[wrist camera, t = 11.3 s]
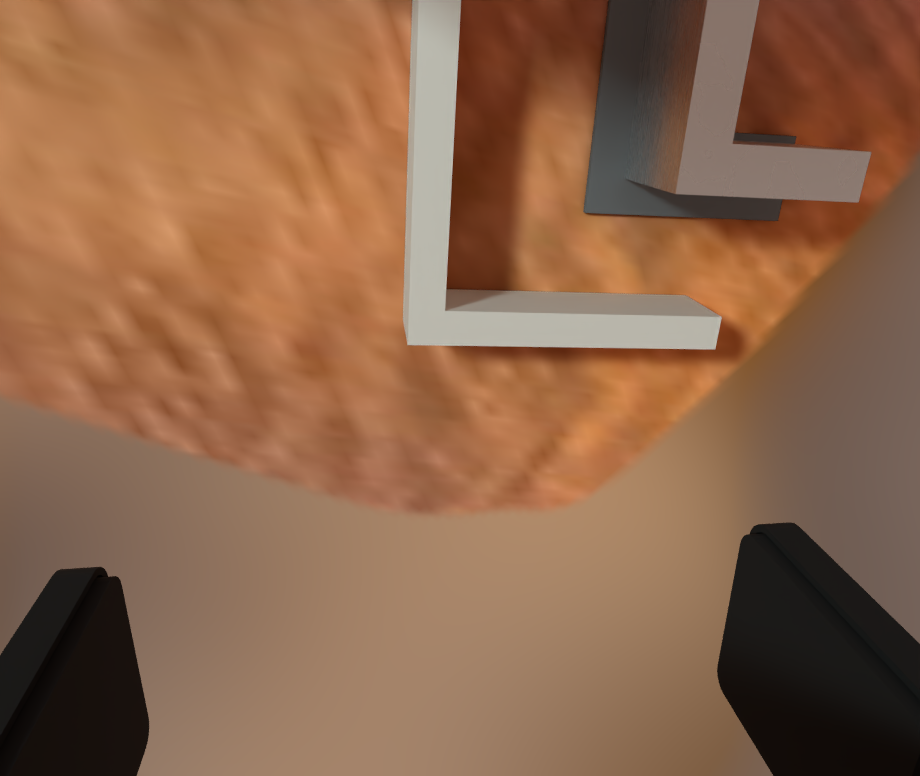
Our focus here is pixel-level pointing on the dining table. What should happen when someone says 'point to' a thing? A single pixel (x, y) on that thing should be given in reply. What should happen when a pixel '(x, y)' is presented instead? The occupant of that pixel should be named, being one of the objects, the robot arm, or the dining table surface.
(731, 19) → the angle bracket
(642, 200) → the pose mat
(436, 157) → the light grey l-shaped block
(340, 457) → the dining table surface
